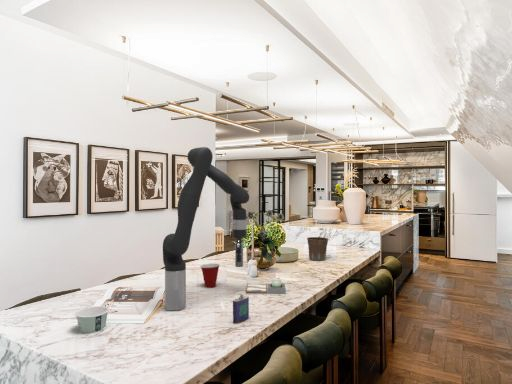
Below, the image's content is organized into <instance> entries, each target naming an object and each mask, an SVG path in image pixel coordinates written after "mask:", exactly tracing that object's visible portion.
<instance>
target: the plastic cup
mask: <svg viewBox="0 0 512 384" xmlns="http://www.w3.org/2000/svg"><path fill="white" fill-rule="evenodd" d="M220 265H221V264H220V263H205V264H201V265H200V266H199V267H200V268H201V272H202V277H203V282H204V287H206V288H208V289H211V288H212V289H213V288H215V287H216V285H217V281H218V280H217V279H218V273H219V269H220V268H219V267H220Z"/></svg>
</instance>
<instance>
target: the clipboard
mask: <svg viewBox="0 0 512 384" xmlns="http://www.w3.org/2000/svg"><path fill="white" fill-rule="evenodd" d="M245 294H264V295H265V294H268V283H247V284H246V289H245Z"/></svg>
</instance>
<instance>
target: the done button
mask: <svg viewBox="0 0 512 384" xmlns="http://www.w3.org/2000/svg"><path fill="white" fill-rule="evenodd" d="M271 283H272V287H281V284H282V280H281V279H272V280H271Z"/></svg>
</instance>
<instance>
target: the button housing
mask: <svg viewBox="0 0 512 384" xmlns="http://www.w3.org/2000/svg"><path fill="white" fill-rule="evenodd" d="M286 290H287V289H286V284H285V283H281V287H272V282H271V283H267V294H268V295H286Z"/></svg>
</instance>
